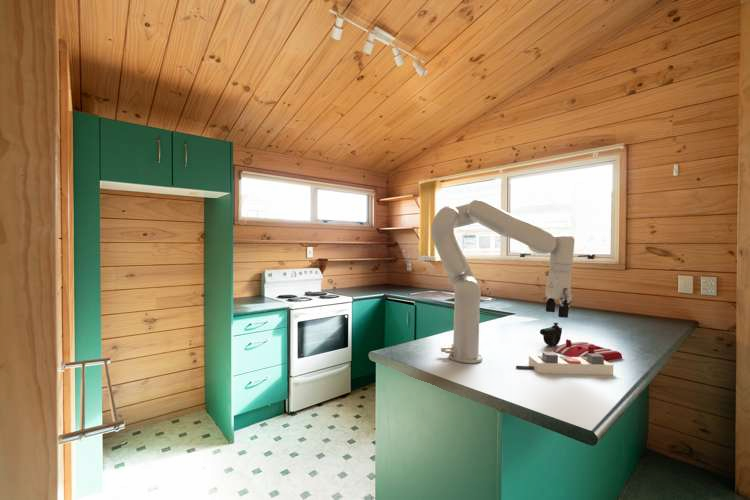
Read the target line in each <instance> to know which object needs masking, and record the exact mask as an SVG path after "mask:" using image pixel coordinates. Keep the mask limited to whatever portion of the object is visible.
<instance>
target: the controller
mask: <svg viewBox="0 0 750 500" xmlns="http://www.w3.org/2000/svg"><path fill="white" fill-rule="evenodd" d="M552 323H553V325H552V326H550V327H545V328H541V329H540V331H539V334H540V335H541V336H543V342H544V343H545V345H547V346H549V347H556V346H557V345H559V342H560V341H561V337H562V334H563V333H562V332H563V327H560V326H559V323H558V322H552Z"/></svg>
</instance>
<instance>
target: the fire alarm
mask: <svg viewBox="0 0 750 500" xmlns="http://www.w3.org/2000/svg"><path fill="white" fill-rule="evenodd" d="M552 353H555V354H557V355H558V354H559V355H560V356H568V357H587V353H588V354H600V355H602V356H604V360H605V361H607V362H608V361H609V360H610V361H616V360H622V359H623V355H622V353H621V352H620V351H617V350H615V349H613V350H612V349H611V348H606V347H602V346H599V345H596V344H595V343H589V342H587V341H577V342H572V341H571V340H570V339H567V338H566V340H565V343H563V344H561V345H559V346H557V347H556V348H555V349H553V352H552Z"/></svg>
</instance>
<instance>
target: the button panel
mask: <svg viewBox="0 0 750 500" xmlns="http://www.w3.org/2000/svg"><path fill="white" fill-rule="evenodd" d="M565 358H576V359H578V360H579V361H581V364H569V363H567V362H566V361H565ZM515 369H517V370H518V369H519V370H521V369H522V370H534V371H535V372H536V373H537V374H562V375H563V374H565V375H566V374H567V375H595V376H596V375H597V376H599V375H601V376H614V364H612V363H610V362H608V361H605V360H604V365H603V364H591V363H589V362H587V357H568V356H564V355H560V356H559V355H558V363H545V362H544V361H542V355H528V365H515Z"/></svg>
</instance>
